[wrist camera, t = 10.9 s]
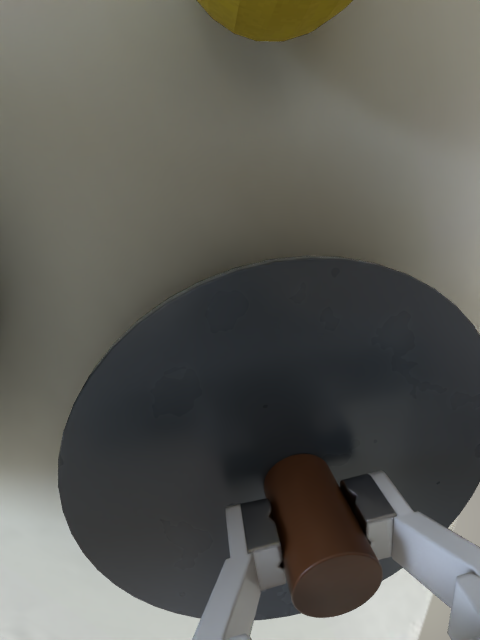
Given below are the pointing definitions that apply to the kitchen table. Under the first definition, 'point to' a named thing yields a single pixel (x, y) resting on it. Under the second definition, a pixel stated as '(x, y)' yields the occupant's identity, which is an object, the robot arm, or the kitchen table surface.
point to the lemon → (272, 16)
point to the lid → (271, 429)
